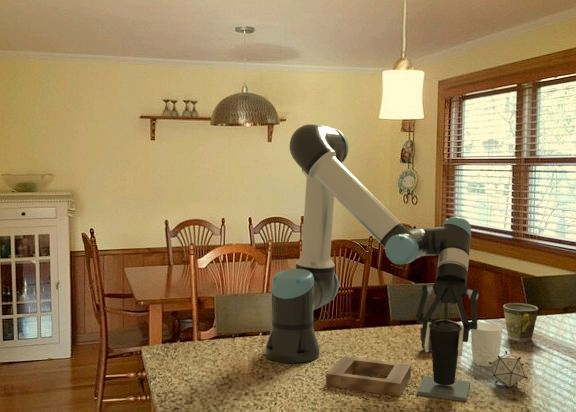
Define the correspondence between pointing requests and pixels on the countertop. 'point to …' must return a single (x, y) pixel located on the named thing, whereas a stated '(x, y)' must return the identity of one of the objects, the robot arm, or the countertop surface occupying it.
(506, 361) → the game die
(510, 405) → the countertop surface
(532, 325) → the ceramic cup
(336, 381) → the holder frame
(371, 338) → the countertop surface
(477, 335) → the white cup
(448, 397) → the slate mat
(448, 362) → the drinking cup
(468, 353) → the countertop surface
